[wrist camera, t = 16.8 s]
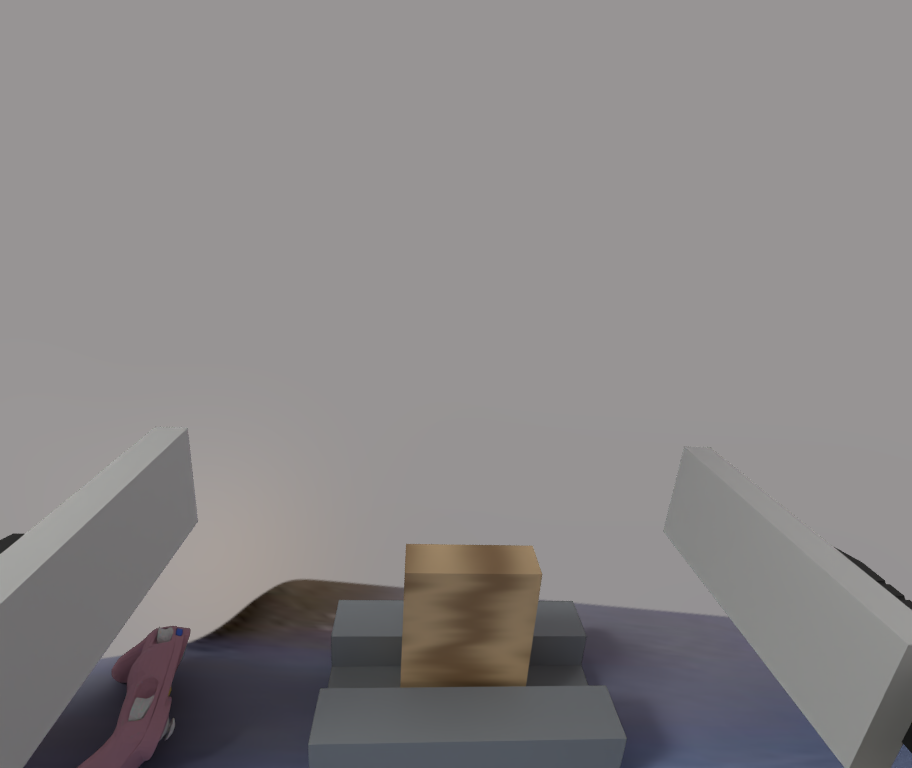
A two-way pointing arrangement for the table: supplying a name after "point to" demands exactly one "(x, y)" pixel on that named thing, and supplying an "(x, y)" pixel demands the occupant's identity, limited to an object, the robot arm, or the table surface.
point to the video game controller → (143, 699)
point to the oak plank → (468, 615)
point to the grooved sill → (460, 703)
